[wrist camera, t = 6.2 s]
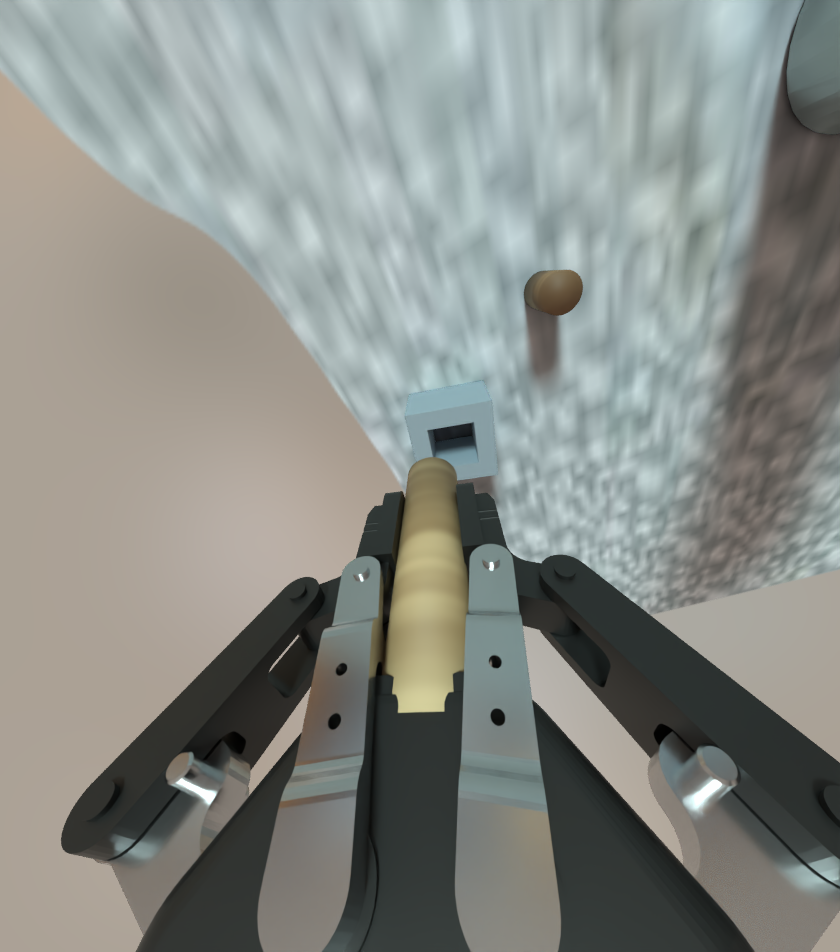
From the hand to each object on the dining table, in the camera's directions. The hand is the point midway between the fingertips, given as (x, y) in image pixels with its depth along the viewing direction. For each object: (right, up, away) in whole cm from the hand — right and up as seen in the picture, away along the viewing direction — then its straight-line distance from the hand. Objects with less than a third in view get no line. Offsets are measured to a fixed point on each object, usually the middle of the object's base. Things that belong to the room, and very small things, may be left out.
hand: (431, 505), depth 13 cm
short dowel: (+8, +15, +9) cm, 19 cm away
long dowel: (0, +1, +2) cm, 2 cm away
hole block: (+2, +6, +15) cm, 17 cm away
